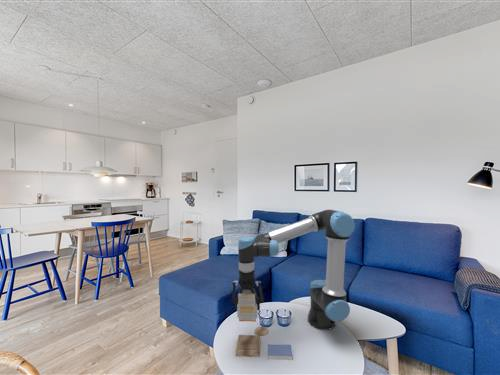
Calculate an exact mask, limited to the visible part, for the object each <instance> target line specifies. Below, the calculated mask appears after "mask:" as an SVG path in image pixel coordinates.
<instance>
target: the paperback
mask: <svg viewBox="0 0 500 375" xmlns="http://www.w3.org/2000/svg"><path fill="white" fill-rule="evenodd" d="M267 355H268V357H267V358H268V359H267V360H278V361H279V360H280V361H281V360H284V361H285V360H287V361H288V360H289V361H292V360H293V359H294V356H293V350H292V344H267Z"/></svg>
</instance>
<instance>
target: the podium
mask: <svg viewBox="0 0 500 375" xmlns="http://www.w3.org/2000/svg"><path fill="white" fill-rule="evenodd" d="M260 352H261V336H259V335H256V334H254V335H253V334H252V335H251V334H238V336H237V342H236V345H235V356H236V357H255V358H256V357H260V354H261V353H260Z"/></svg>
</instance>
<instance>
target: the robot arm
mask: <svg viewBox="0 0 500 375" xmlns="http://www.w3.org/2000/svg"><path fill="white" fill-rule="evenodd" d="M355 228H356V225H355V220H354V219H353V217H352V216H351V215H350V214H348V213H346V212H343V211H339V210H333V209H325V210H322V211H319V212H316V213H314V214H311V215H308V218H305V219H302V220H299V221H296V222H294V223H291V224H288V225H285V226H283V227H280V228H276V229H274V230H271V231H269V232H266V233H258V234H256V235H255V236H254V237H252V236H243V237H240V238H239V239H238V247H237V248H238V249H237V250H238V270H239V271H238V280H233V281H232V294H231V300H230V302H231V303H234V310H235V311H237V312H236V313H237V315H236V316H237V318H238V319H239V305H238V294H237V296H236V291H237V286H238V285H239V286H240V288H239V290H240V291H239V290H238V293H239V294H241V293H242V291H243V290H251V292H252V294H255V300H256V319H258V315H259V311H260V310H261V308H260V307H261V304H263V303H264V297H263V291H262V286H261V285H262V280H256V278H255V277H256V276H255V274H256V273H255V258H262V257H263V258H264V257H266V258H267V257H274V256H275V257H276V256H278V255H279V252H280V251H279V250H280V246H279V244H281V243H284V242H287V241H290V240H293V239H294V238H297V237H300V236H303V235H305V234H309V233H311V232H312V233H313V232H315V233H316V232H320V231H325V233H324V234H325V235H324V237H325V238H326V239H327V251H326V253H327V254H326V267H325V268H326V269H325V270H326V273H325V279H314V280H311V281H310V287H309V290H310V291H309V293H310V308H309V311H308V315H307V322H308V324H309V323H310V324H311V326H312V327H313V326H314V327H313V328H314V329H319V330H323V329H328V330H330V329H329V328H332V327H333V328H335V327H336V325H335V323H336V322H337V323H339V322H343V321H344V320H345V319H347V318H348V316H349V315H350V311H351V307H350V304H349V302H347V292H346V290H345V289H344V283H345V282H344V280H345V278H344V277H345V266H346V264H345V262H346V246H347V245H346V244H347V242H348V241H350V236H351V235H352V234H354V232H355ZM255 285H256V287H257V290H258V291H256V289H255V287H254V286H255ZM257 292H258V293H257ZM258 294H259V295H258ZM235 296H236V298H235ZM310 324H309V325H310ZM334 326H335V327H334ZM333 328H332V329H333Z"/></svg>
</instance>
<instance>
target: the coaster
mask: <svg viewBox="0 0 500 375" xmlns="http://www.w3.org/2000/svg"><path fill="white" fill-rule="evenodd" d="M253 332H254V335H259V336H260V337H265V336H267V335H269V333H270V329H268V328H267V327H266V326H258V327H256V328H255V329H254V330H253Z"/></svg>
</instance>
